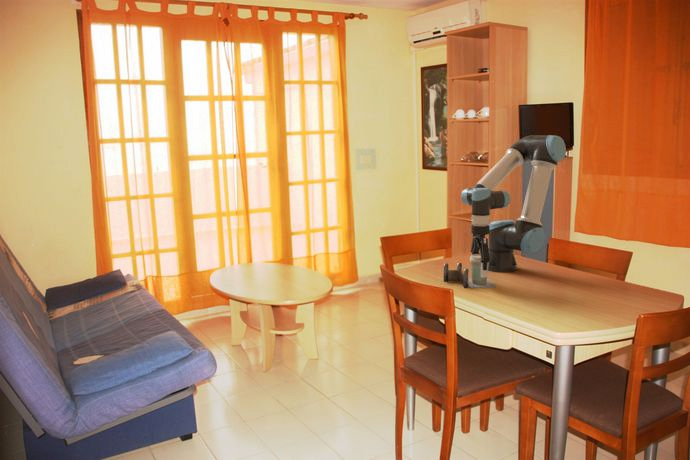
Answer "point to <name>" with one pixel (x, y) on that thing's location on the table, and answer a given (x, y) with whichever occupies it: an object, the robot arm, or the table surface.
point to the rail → (456, 275)
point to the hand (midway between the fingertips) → (479, 273)
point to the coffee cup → (477, 270)
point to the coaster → (487, 285)
